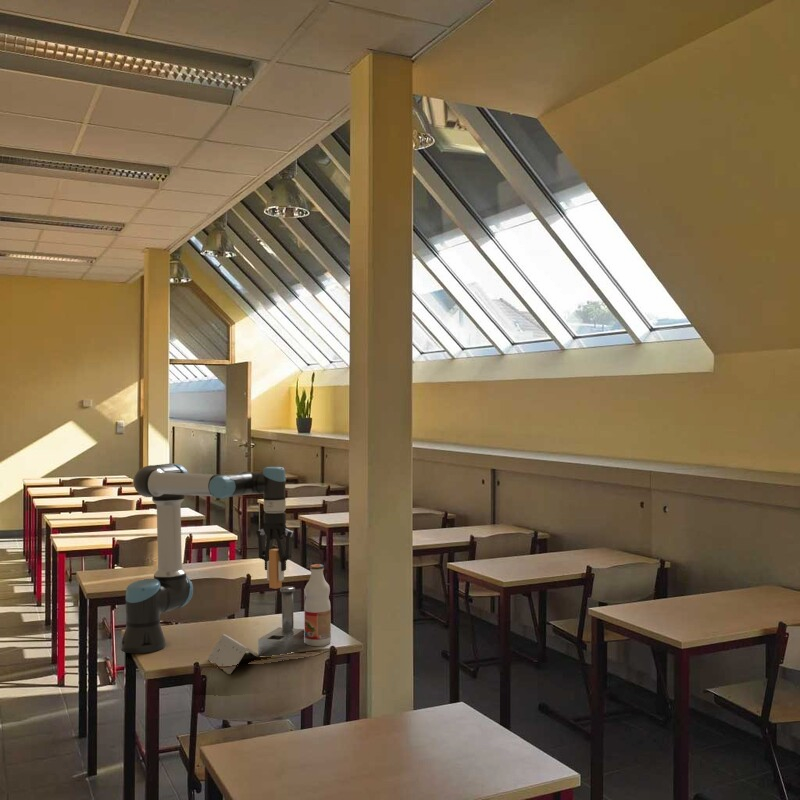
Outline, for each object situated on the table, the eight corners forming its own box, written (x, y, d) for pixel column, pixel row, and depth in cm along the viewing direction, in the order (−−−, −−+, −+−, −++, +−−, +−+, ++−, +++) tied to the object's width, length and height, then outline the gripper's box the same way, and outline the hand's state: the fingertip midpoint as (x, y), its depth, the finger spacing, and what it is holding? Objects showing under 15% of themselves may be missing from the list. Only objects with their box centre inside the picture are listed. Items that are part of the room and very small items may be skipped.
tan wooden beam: (269, 587, 283) (269, 549, 283) (275, 586, 286) (274, 548, 286) (276, 588, 282) (275, 550, 282) (281, 587, 284) (281, 549, 284)
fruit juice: (330, 646, 293) (329, 567, 294) (304, 647, 293) (303, 568, 293) (331, 639, 303) (330, 562, 303) (305, 639, 302) (304, 563, 302)
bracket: (246, 646, 265) (223, 633, 282) (228, 675, 262) (206, 659, 279) (276, 665, 271) (252, 651, 288) (259, 693, 268) (236, 677, 284)
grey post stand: (258, 656, 282) (257, 595, 282) (279, 644, 297) (278, 585, 297) (285, 659, 279) (284, 596, 279) (304, 646, 294) (303, 587, 294)
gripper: (247, 512, 283) (248, 580, 283) (292, 513, 278) (293, 583, 278) (258, 509, 290) (258, 576, 290) (301, 511, 285) (302, 578, 285)
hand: (275, 579), depth 284 cm, fingers closed on tan wooden beam, 4 cm apart
